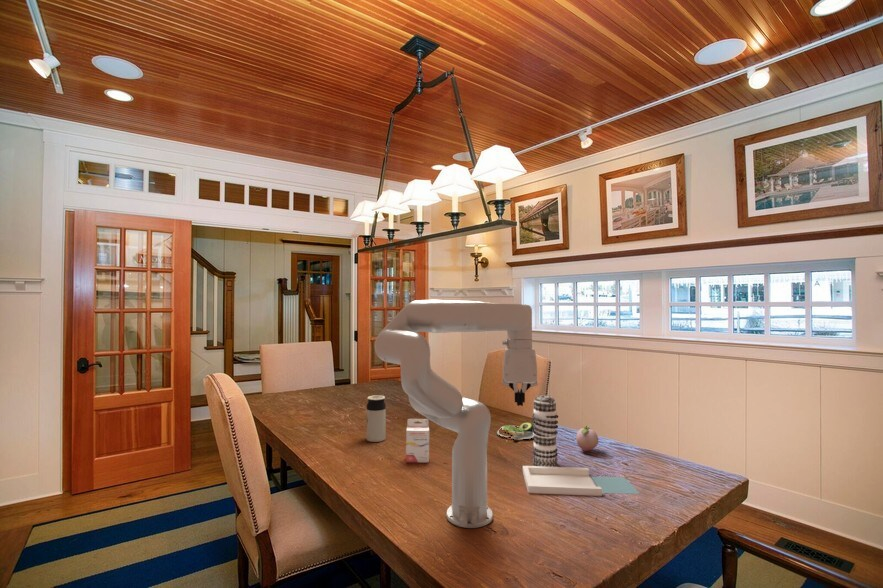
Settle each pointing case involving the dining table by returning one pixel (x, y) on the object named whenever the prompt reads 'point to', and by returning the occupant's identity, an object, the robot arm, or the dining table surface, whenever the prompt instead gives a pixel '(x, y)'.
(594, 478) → the cover plate
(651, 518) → the dining table surface
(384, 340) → the robot arm
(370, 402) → the travel mug
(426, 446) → the ink cartridge box
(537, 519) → the dining table surface
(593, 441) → the decorative fruit
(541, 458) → the decorative candle
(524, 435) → the plate of avocado toast
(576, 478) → the white flat tray
